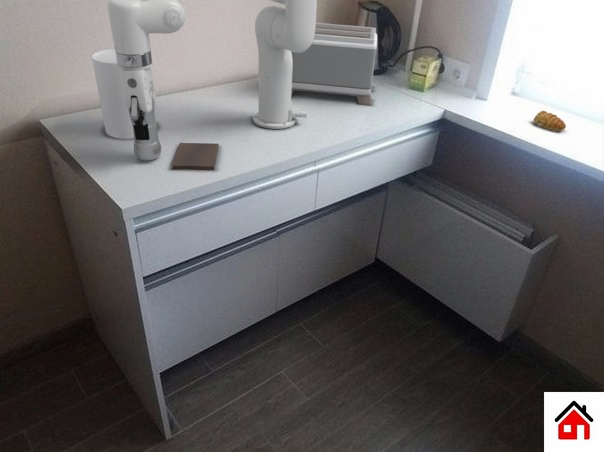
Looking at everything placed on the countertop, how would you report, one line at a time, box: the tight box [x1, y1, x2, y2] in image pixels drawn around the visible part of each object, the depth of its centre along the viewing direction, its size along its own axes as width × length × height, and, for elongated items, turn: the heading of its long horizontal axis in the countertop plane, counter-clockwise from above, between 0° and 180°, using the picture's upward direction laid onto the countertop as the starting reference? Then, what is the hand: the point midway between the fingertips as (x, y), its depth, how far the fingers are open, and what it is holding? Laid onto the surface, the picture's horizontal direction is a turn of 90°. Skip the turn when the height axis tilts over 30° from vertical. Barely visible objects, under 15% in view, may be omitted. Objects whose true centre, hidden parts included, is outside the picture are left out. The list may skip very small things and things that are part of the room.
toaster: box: [291, 22, 378, 106], centre depth 166 cm, size 19×34×20 cm, turn 82°
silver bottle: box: [126, 97, 162, 161], centre depth 118 cm, size 6×7×20 cm
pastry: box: [533, 110, 567, 132], centre depth 154 cm, size 9×7×4 cm
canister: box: [91, 48, 157, 140], centre depth 132 cm, size 14×14×20 cm
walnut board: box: [171, 142, 220, 171], centre depth 125 cm, size 10×13×1 cm
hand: (145, 133), depth 120 cm, fingers closed on silver bottle, 5 cm apart
